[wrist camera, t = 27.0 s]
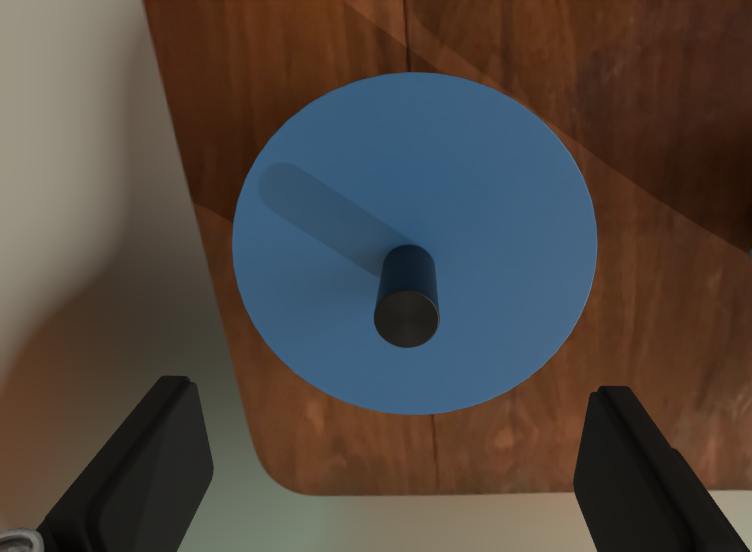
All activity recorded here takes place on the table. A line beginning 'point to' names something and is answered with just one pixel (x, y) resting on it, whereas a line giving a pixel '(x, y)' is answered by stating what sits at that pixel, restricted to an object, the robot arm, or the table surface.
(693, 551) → the robot arm
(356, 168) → the lid
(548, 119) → the table surface
